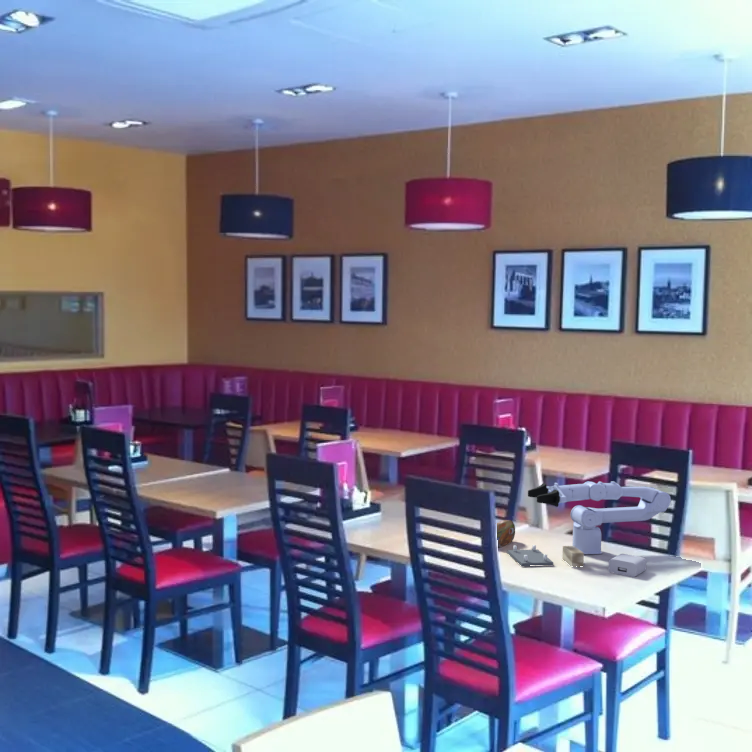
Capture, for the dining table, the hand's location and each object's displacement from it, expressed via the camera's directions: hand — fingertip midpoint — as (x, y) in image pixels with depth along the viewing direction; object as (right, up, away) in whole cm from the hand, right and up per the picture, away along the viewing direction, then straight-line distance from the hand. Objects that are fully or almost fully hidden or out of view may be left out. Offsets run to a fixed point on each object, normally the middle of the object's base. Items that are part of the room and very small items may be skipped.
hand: (532, 496), depth 321 cm
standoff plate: (-2, -21, -5) cm, 22 cm away
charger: (+30, -23, -14) cm, 40 cm away
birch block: (+12, -22, -9) cm, 26 cm away
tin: (-9, -19, +14) cm, 26 cm away
